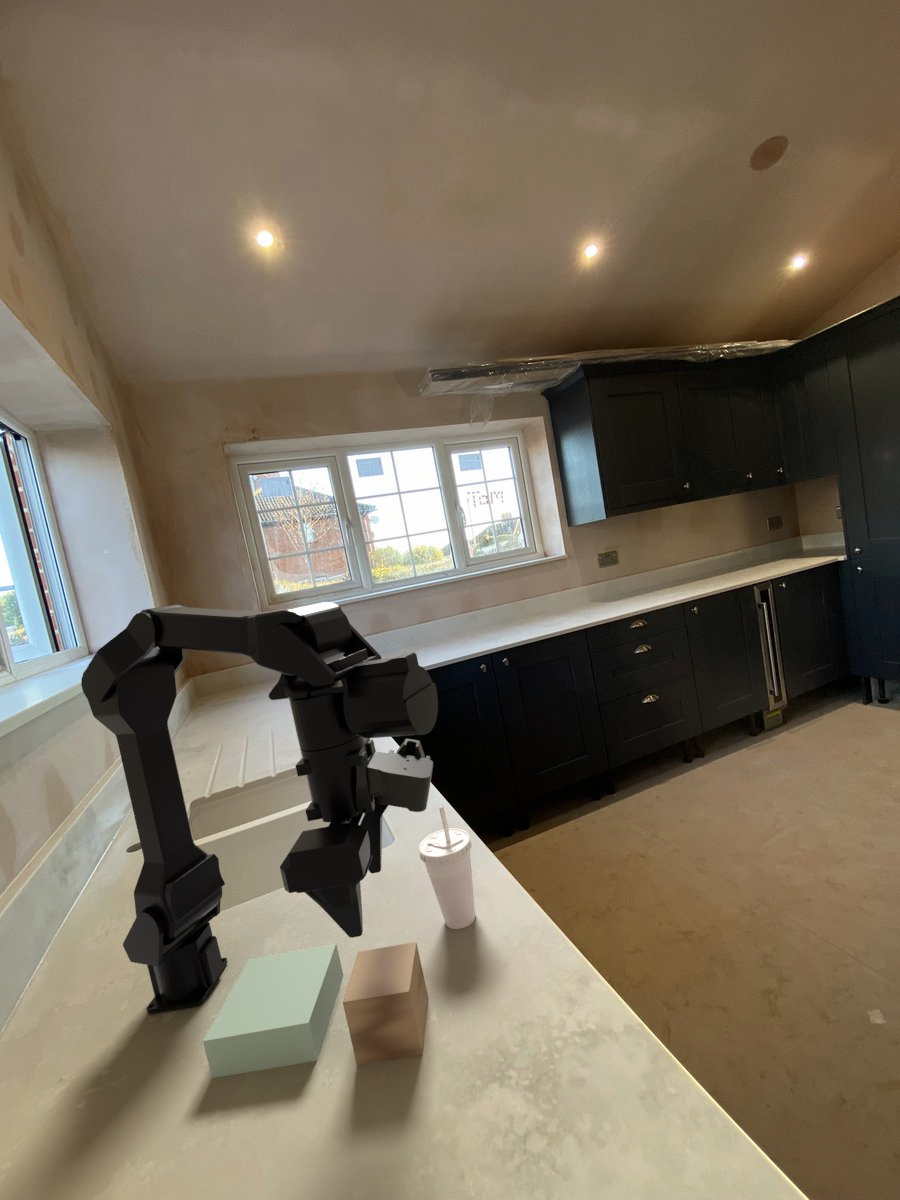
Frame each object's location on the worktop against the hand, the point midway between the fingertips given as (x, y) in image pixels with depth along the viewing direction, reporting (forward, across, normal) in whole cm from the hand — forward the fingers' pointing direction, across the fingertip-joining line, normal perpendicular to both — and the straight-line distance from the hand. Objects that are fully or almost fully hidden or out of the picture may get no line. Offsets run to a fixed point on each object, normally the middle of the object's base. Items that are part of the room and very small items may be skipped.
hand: (367, 900), depth 48 cm
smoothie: (+13, +14, -6) cm, 20 cm away
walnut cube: (+13, 0, 0) cm, 13 cm away
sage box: (+13, +3, +12) cm, 18 cm away
